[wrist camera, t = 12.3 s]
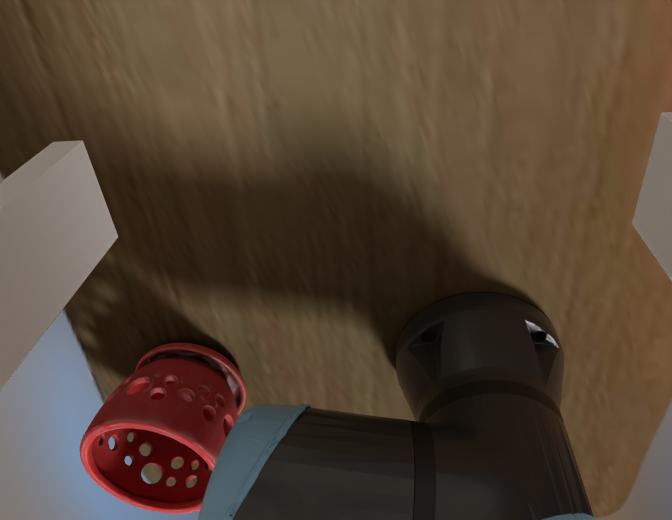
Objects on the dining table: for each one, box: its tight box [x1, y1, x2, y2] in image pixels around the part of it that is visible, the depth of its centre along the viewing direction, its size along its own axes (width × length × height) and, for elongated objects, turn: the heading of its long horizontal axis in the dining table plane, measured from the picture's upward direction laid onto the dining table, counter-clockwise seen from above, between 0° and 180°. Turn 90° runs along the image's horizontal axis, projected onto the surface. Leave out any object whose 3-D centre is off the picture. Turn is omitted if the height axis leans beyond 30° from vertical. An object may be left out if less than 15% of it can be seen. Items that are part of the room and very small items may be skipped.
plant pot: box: [80, 343, 246, 513], centre depth 52 cm, size 13×13×12 cm
